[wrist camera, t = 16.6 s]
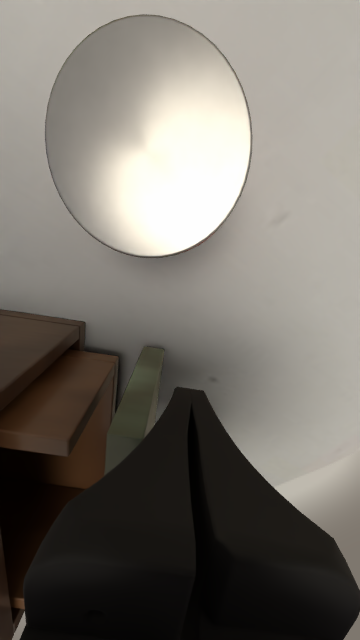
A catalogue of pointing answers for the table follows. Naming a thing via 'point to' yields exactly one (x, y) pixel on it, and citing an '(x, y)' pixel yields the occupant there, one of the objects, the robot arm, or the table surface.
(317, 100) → the table surface
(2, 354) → the cabinet
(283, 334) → the table surface
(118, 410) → the drawer
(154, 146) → the can
